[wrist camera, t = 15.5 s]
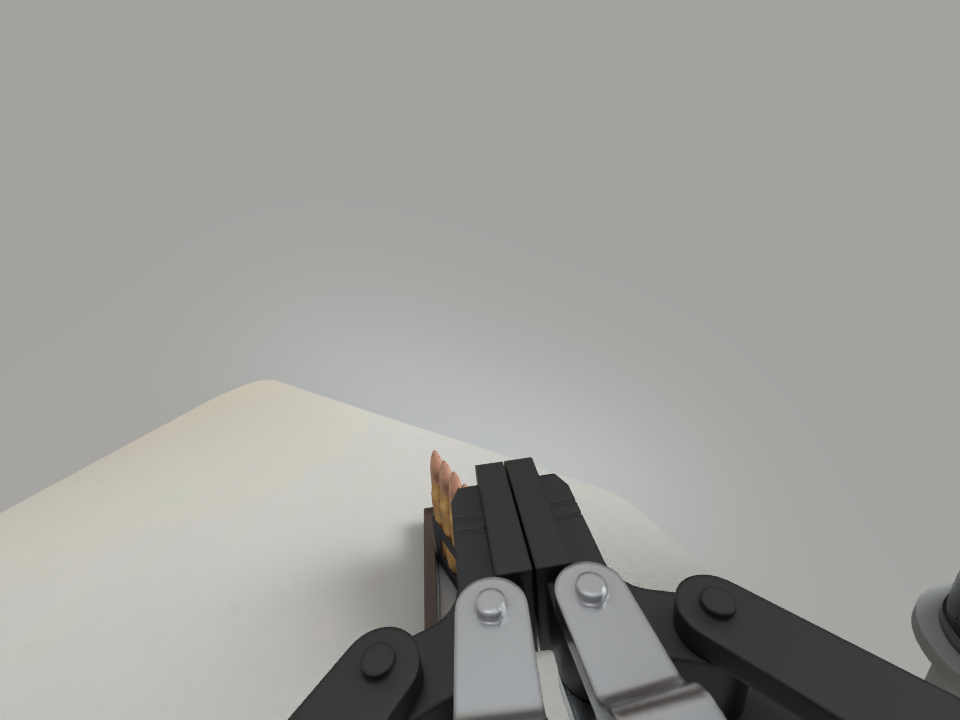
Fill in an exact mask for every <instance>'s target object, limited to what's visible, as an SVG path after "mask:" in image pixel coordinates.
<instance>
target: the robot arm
mask: <svg viewBox="0 0 960 720" xmlns="http://www.w3.org/2000/svg"><path fill="white" fill-rule="evenodd" d="M475 470H476V479H477V485H476V486H469V487H463V488H458V489H457V491H456V493H455V496H454V498H453V500H452V502H451V509H452V520H453V533H454V545H455V558H456V570H457V582H458V592H457V597H456V600H455V603H454V605H453V606H452V608H451V610H450V611H449V612H448V614H447V615H446V616H445V617H444V618H443V619H442V620H440V621H439V622H438V623H436V624H435V625H433V626H431V627H430V628H428V629H426V630H424V631H422V632H420V633H418V634H416V635H414V636H411V635H410V634H409V633H408V632H406V631H405V630H402V629H400V628H396V627H382V628H378V629H375V630H372V631H370V632H368V633H366V634H365V635H363V636H361V637H360V638H359V639H358V640H356V641H355V642H354V643H353V644H352V645H351V646H350V648H349V649H348V650H347V651H346V652H345V653H344V655H343V656H342V657H341V658H340V659H339V660H338V662H337V663H336V664H335V665H334V666H333V667H332V669H331V670H330V671H329V672H328V673H327V674H326V676H325V677H324V678H323V679H322V680H321V681H320V683H319V684H318V685H317V686H316V687H315V688H314V690H313V691H312V692H311V693H310V694H309V695H308V697H307V698H306V699H305V700H304V701H303V702H302V704H301V705H300V706H299V707H298V708H297V709H296V711H295V712H294V713H293V714H292V715H291V716H290V718H289V719H288V720H548V719H547V717H546V715H545V710H544V704H543V698H542V691H541V685H540V679H539V672H538V666H537V659H536V653H535V652H538V647H537V637H538V641H539V645H540V649H541V651H542V650H548V649H553V652H554V655H555V659H556V663H557V666H558V682H559V688H560V692H561V695H562V698H563V701H564V704H565V707H566V710H567V713H568V716H569V719H570V720H960V698H958V697H956V696H954V695H952V694H951V693H949V692H947V691H945V690H943V689H941V688H939V687H937V686H935V685H933V684H931V683H929V682H927V681H925V680H923V679H921V678H919V677H917V676H915V675H913V674H911V673H909V672H907V671H905V670H903V669H901V668H899V667H897V666H895V665H893V664H891V663H889V662H888V661H886V660H884V659H882V658H880V657H878V656H876V655H874V654H872V653H870V652H868V651H866V650H864V649H862V648H860V647H858V646H856V645H854V644H852V643H850V642H848V641H846V640H844V639H842V638H840V637H838V636H836V635H834V634H832V633H830V632H828V631H827V630H825V629H823V628H821V627H819V626H817V625H815V624H813V623H811V622H809V621H807V620H805V619H803V618H801V617H799V616H797V615H795V614H793V613H791V612H789V611H787V610H785V609H783V608H781V607H779V606H777V605H775V604H773V603H771V602H769V601H767V600H766V599H764V598H761V597H759V596H758V595H756V594H754V593H752V592H750V591H748V590H746V589H744V588H742V587H740V586H738V585H736V584H734V583H732V582H730V581H728V580H725V579H723V578H720V577H717V576H712V575H695V576H691V577H688V578H686V579H685V580H683V581H682V582H681V583H680V584H679V585H678V587H677V589H676V593H674V592H666V591H658V590H650V589H644V588H640V587H636V586H633V585H631V584H629V583H627V582H625V581H624V580H623V579H622V578H621V576H620V575H619V574H618V573H616V572H615V571H614V570H613V569H611V568H609V567H607V565H606V563H605V562H604V560H603V558H602V556H601V553H600V551H599V549H598V547H597V545H596V543H595V541H594V539H593V537H592V534H591V532H590V530H589V528H588V526H587V524H586V522H585V520H584V517H583V515H581V511H580V509H579V507H578V505H577V503H576V502H575V498H574V496H573V494H572V492H571V490H570V488H569V486H568V484H566V483H565V482H564V481H563V480H562V479H560V478H559V477H558V476H557V475H556V474H548V475H541V476H539V475H538V472H537V470H536V467H535V465H534V462H533V459H532V458H531V457H529V458H523V459H515V460H509V461H504V465H503V462H496V463H489V464H482V465H476V466H475ZM939 622H940V626H941V628H942V631H943V633H944V635H945V636H946V638H947V639H948V641H949V642H950V644H951V645H952V646H953V648H954V649H955V650H956V651H957V652H958V653H959V654H960V571H959V573H958V575H957V577H956V579H955V581H954V584H953V586H952V588H951V590H950V593H949V594H948V595H947V596H946V597H945V599H944V601H943V603H942V606H941V608H940V611H939Z"/></svg>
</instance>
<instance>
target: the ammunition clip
mask: <svg viewBox="0 0 960 720" xmlns="http://www.w3.org/2000/svg"><path fill="white" fill-rule="evenodd" d="M430 470H431V482H432V493H431V495H432V503H433V510H434V516H432V523H433V530H434V537H435V543H436V550H437V557H438V560H439V562H440V564H441V565H442V567H443V568H444V570H445V572H446V573H447V575H448V576H449V578H450V579H451V581H452V583H453V584H454V586H455V587H456V589H457V591H458V582H457V570H456V558H455V545H454V533H453V520H452V509H451V502H452V500H453V498H454V496H455V493H456V491H457V489H458V488H463V487H468V486H467V485H466V484H463V485H462V484H461V482H460V479H459V477H458V475H457V474H456V473H455V472H452V473H451V470H450V468H449V466H448V464H447V463H446V462H445V461H441V458H440V456H439V454H438V453H437V451H435V450H434V451H433V453H432V456H431V463H430Z"/></svg>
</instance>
